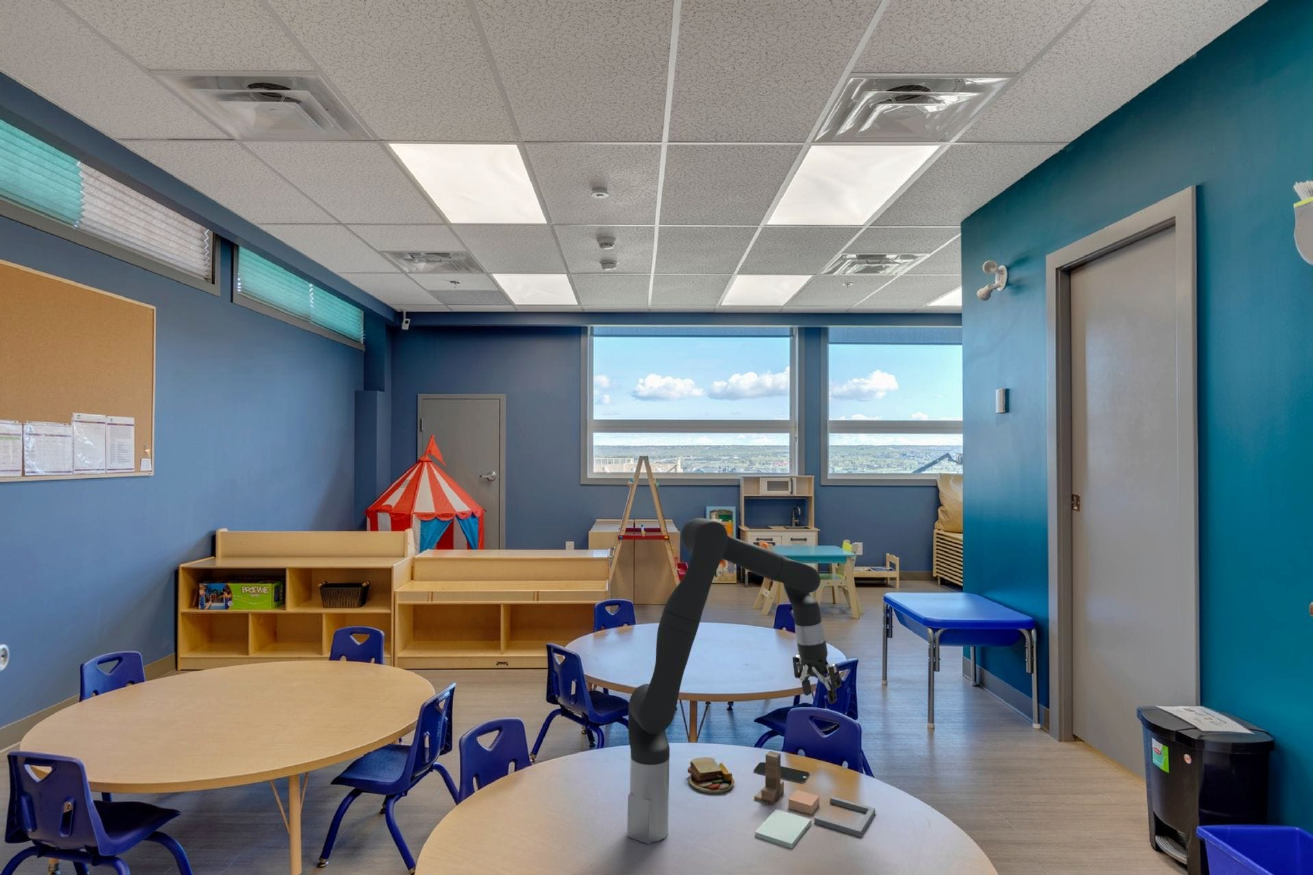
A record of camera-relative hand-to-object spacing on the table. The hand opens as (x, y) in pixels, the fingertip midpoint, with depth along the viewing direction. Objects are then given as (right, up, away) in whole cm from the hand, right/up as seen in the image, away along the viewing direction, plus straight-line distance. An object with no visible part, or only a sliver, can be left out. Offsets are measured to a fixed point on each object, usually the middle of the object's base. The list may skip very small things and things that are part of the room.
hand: (820, 698), depth 177 cm
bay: (+3, -25, -12) cm, 28 cm away
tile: (-6, -25, -6) cm, 27 cm away
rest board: (-13, -24, -18) cm, 33 cm away
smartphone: (-8, -27, +13) cm, 31 cm away
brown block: (-13, -25, -2) cm, 28 cm away
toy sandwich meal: (-29, -26, +6) cm, 39 cm away
